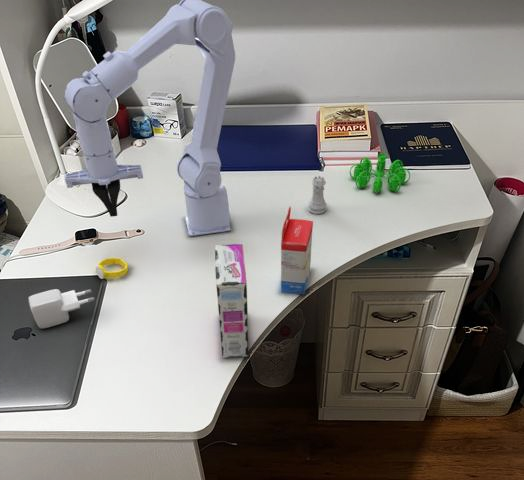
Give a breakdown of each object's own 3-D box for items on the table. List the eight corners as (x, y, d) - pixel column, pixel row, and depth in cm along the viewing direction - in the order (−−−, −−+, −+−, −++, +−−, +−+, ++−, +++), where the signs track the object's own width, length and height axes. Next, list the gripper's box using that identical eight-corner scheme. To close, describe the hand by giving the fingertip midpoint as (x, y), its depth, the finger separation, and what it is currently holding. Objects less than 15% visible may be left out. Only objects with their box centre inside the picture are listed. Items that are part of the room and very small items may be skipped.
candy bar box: (250, 357, 94) (247, 283, 82) (222, 359, 94) (214, 285, 82) (246, 315, 102) (243, 242, 90) (220, 317, 101) (213, 243, 90)
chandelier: (345, 193, 133) (348, 167, 128) (352, 165, 143) (355, 140, 138) (407, 199, 130) (412, 173, 125) (409, 170, 140) (414, 144, 135)
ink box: (304, 295, 105) (307, 231, 95) (280, 292, 106) (280, 228, 96) (310, 269, 111) (314, 206, 101) (287, 267, 112) (288, 204, 101)
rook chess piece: (304, 212, 127) (306, 181, 121) (311, 203, 130) (312, 172, 124) (323, 216, 125) (325, 184, 120) (328, 206, 128) (331, 175, 123)
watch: (132, 263, 110) (107, 273, 107) (133, 274, 112) (109, 284, 109) (115, 252, 113) (90, 261, 110) (116, 263, 115) (92, 272, 112)
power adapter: (94, 300, 105) (86, 276, 101) (99, 315, 102) (92, 291, 98) (36, 317, 102) (25, 293, 98) (39, 333, 99) (29, 309, 95)
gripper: (57, 164, 96) (77, 229, 106) (138, 154, 99) (150, 218, 108) (58, 147, 101) (77, 210, 111) (135, 138, 103) (148, 201, 113)
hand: (113, 213), depth 110 cm, fingers closed
